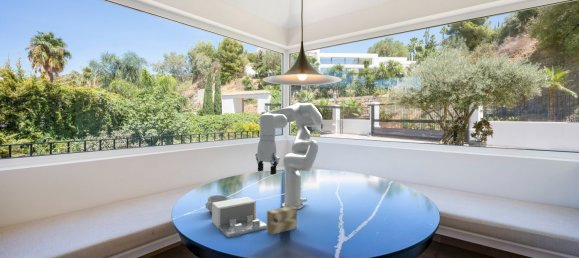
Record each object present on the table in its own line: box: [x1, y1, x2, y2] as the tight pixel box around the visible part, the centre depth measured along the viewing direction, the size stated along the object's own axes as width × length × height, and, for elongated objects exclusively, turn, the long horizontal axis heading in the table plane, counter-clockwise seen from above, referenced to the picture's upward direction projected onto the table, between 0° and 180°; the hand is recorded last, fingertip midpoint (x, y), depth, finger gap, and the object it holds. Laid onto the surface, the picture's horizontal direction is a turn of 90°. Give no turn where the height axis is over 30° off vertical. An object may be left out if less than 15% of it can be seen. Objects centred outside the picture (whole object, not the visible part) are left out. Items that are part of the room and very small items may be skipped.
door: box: [266, 206, 298, 236], centre depth 134 cm, size 14×5×10 cm, turn 124°
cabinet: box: [211, 196, 257, 229], centre depth 145 cm, size 20×9×10 cm, turn 124°
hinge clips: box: [217, 215, 267, 239], centre depth 136 cm, size 20×12×4 cm, turn 124°
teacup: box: [205, 194, 229, 213], centre depth 157 cm, size 14×11×8 cm
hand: (266, 172), depth 143 cm, fingers open, 9 cm apart
